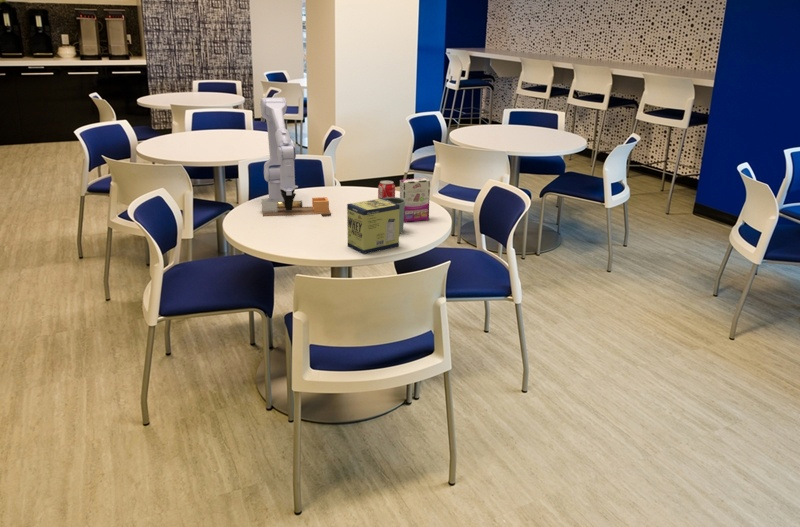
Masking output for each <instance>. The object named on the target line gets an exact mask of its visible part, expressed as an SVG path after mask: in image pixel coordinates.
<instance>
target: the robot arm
mask: <svg viewBox="0 0 800 527" xmlns="http://www.w3.org/2000/svg"><path fill="white" fill-rule="evenodd" d="M287 102H288V101H287V99H286V98H285V97H284V96H282V97H280V96H279V97H262V98H261V99H260V104H259V105H260V115H261V118H262V119H265V121H266V122H265V123H266V125H267V126H266V128H267V137H268V138H267V139H268V149H269V151H268V152H269V159H268V160H266V161H265V162H264V163H263V164H264V165H263V177H264V180H265V181H266V183H267V184H268V197H267V199H277V202H279V201H284V202H285V207H286V210H292V205H293V201H295V197H296V196H297V194H296V192H295V189H298V188H299V185H296V181H295V180H296V178H295V177H296V175H295V174H296V173H295V172H296V170H295V160H296V157H297V151H296V146H295V144H294V142H292V139H291V135H290V131H289V130H288V129H286V123H285V117H284V116H285V115H286V112H287V108H288V105H287Z"/></svg>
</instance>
